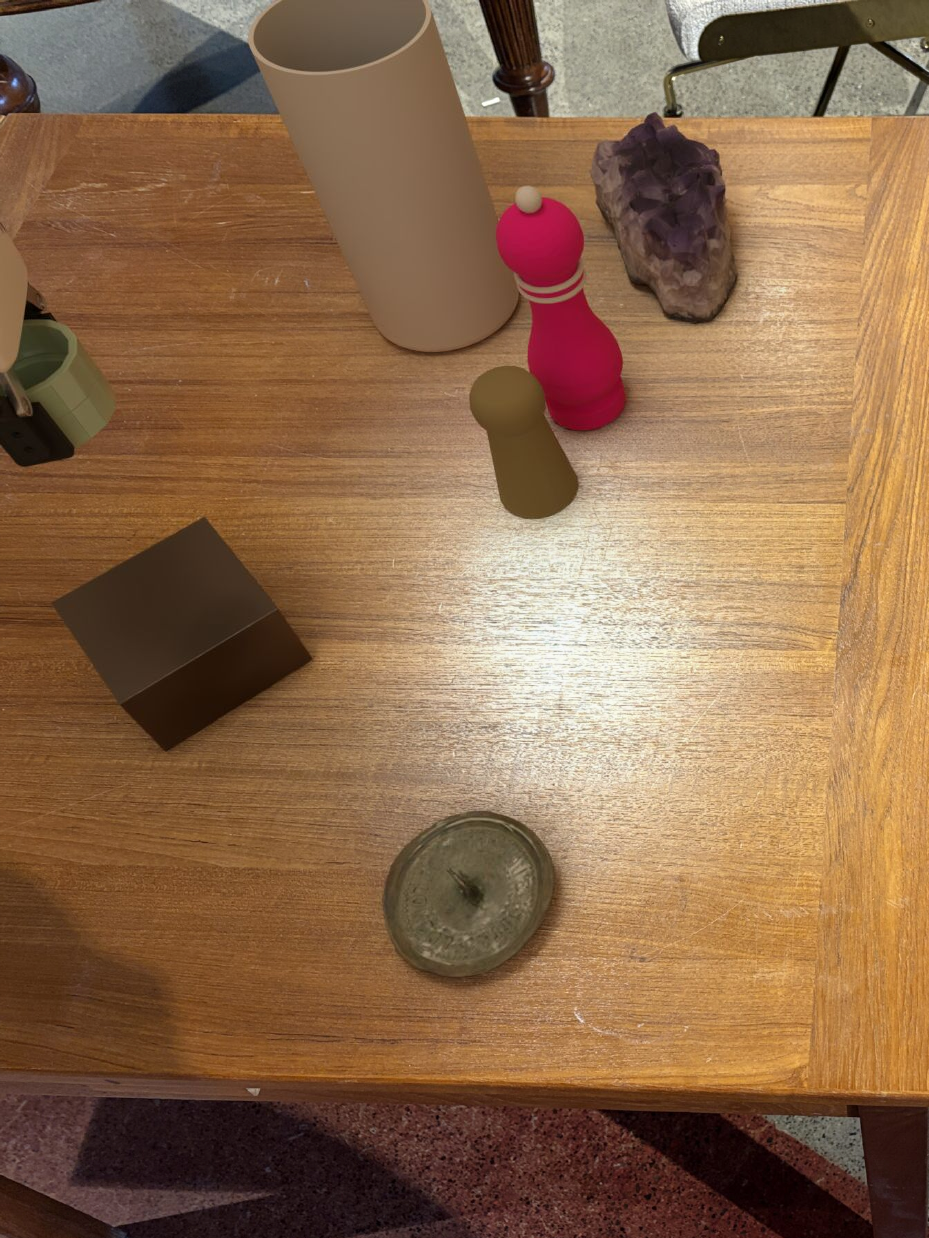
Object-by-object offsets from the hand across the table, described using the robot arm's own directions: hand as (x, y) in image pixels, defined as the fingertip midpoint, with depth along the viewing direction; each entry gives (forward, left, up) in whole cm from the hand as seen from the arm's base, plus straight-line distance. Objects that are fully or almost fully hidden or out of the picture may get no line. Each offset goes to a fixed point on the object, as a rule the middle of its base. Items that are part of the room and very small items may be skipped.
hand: (52, 411), depth 78 cm
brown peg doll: (+24, -9, -18) cm, 32 cm away
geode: (+49, +6, -18) cm, 53 cm away
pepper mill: (+32, -4, -18) cm, 37 cm away
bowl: (0, 0, -1) cm, 1 cm away
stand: (-2, -6, -18) cm, 19 cm away
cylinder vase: (+30, +14, -18) cm, 38 cm away
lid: (+2, -35, -18) cm, 40 cm away
